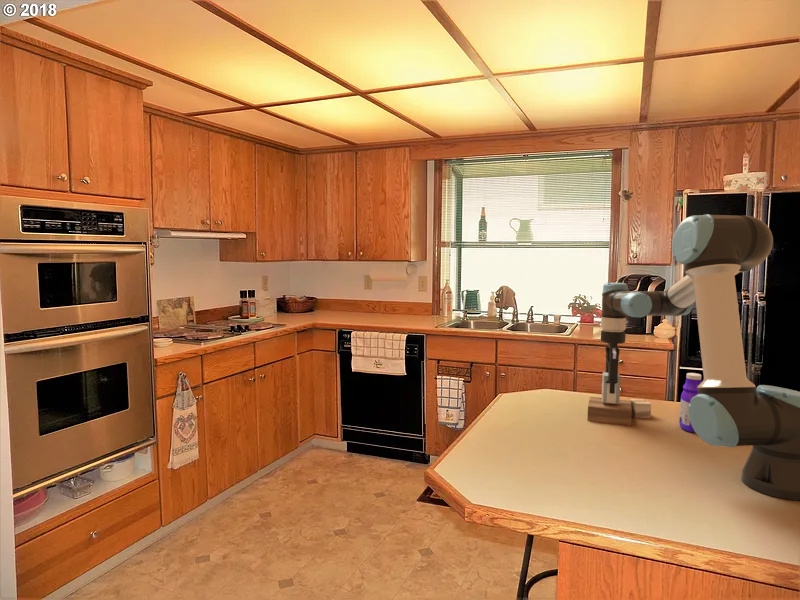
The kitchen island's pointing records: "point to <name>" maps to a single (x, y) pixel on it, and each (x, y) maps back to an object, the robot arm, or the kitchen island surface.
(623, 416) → the walnut block
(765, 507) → the kitchen island surface
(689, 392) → the bottle
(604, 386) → the pale gray block
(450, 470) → the kitchen island surface
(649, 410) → the maple cube
